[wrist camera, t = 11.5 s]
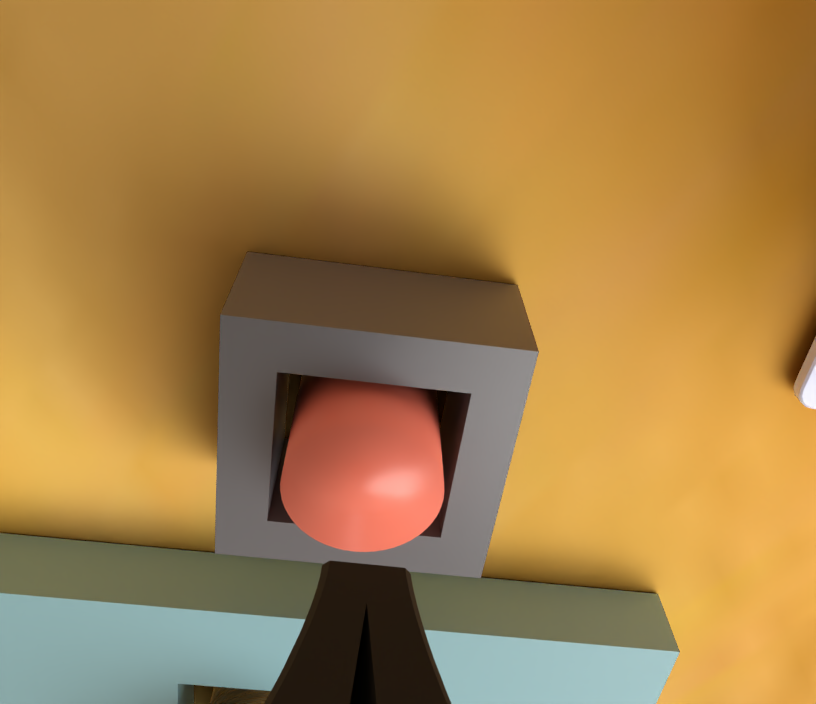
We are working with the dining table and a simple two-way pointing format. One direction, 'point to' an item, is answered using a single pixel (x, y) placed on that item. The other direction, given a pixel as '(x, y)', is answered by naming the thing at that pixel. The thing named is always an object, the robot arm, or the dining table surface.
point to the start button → (363, 463)
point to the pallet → (298, 629)
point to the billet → (238, 696)
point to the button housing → (377, 363)
